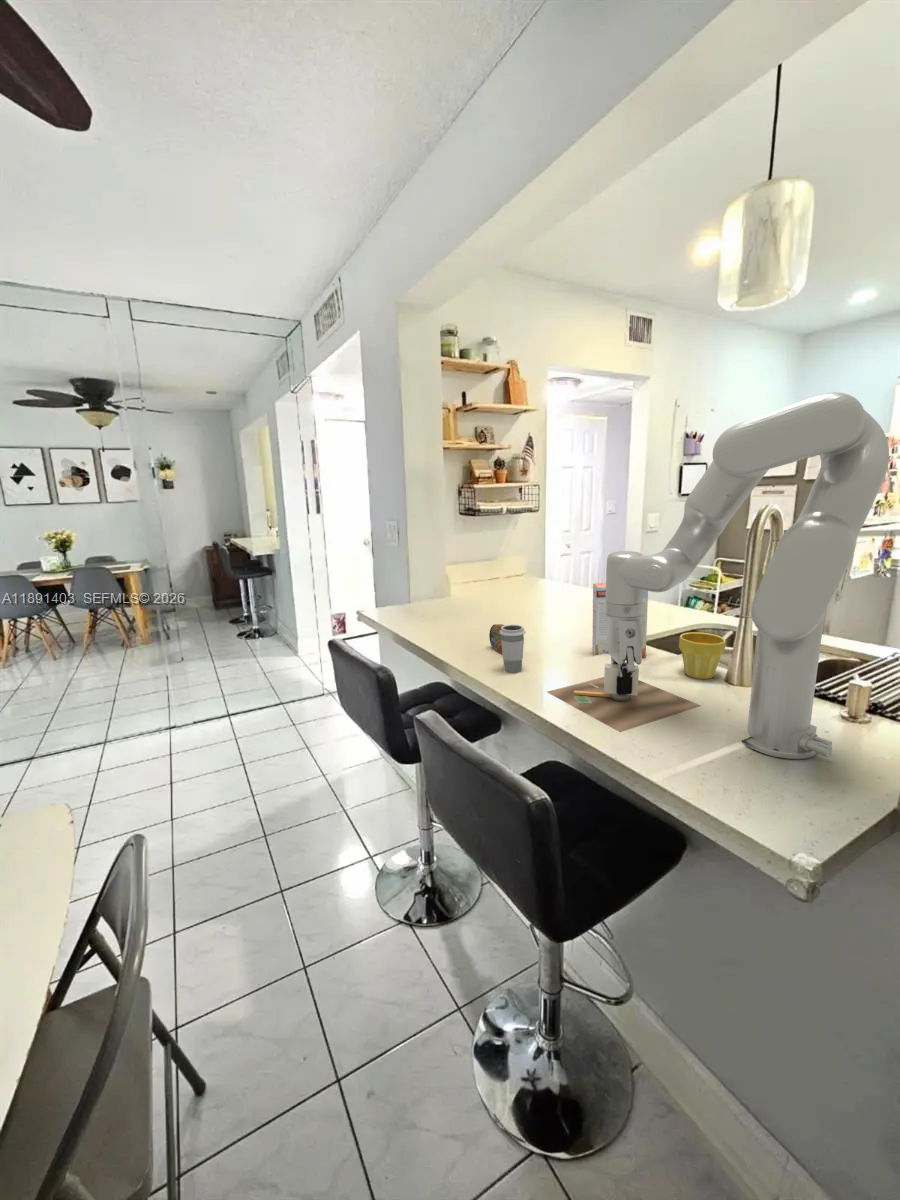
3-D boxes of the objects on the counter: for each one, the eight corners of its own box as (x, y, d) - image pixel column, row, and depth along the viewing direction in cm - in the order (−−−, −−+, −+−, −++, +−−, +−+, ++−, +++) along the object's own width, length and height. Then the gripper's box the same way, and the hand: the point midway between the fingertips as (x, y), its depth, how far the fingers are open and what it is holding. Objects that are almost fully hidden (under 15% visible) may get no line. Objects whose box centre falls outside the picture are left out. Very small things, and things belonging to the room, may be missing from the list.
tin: (488, 647, 156) (488, 621, 154) (497, 646, 157) (496, 620, 155) (514, 661, 142) (514, 633, 140) (524, 659, 144) (523, 631, 142)
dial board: (700, 712, 107) (701, 705, 106) (619, 739, 97) (619, 731, 96) (620, 678, 127) (620, 672, 126) (546, 697, 117) (546, 691, 117)
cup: (510, 676, 131) (510, 632, 128) (494, 669, 136) (493, 627, 134) (531, 670, 135) (530, 627, 132) (514, 663, 140) (514, 622, 138)
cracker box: (640, 651, 146) (643, 581, 142) (646, 658, 140) (649, 585, 136) (591, 651, 148) (592, 582, 143) (594, 658, 142) (596, 586, 137)
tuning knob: (636, 694, 112) (637, 664, 111) (637, 702, 108) (639, 670, 107) (574, 689, 116) (575, 660, 115) (573, 697, 112) (574, 667, 111)
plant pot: (724, 671, 129) (727, 634, 126) (720, 685, 120) (723, 646, 118) (681, 665, 134) (683, 629, 132) (673, 677, 126) (676, 640, 124)
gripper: (656, 618, 99) (651, 705, 103) (628, 600, 115) (626, 675, 119) (617, 619, 99) (615, 706, 103) (595, 601, 115) (594, 676, 119)
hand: (620, 689), depth 111 cm, fingers closed on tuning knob, 3 cm apart
